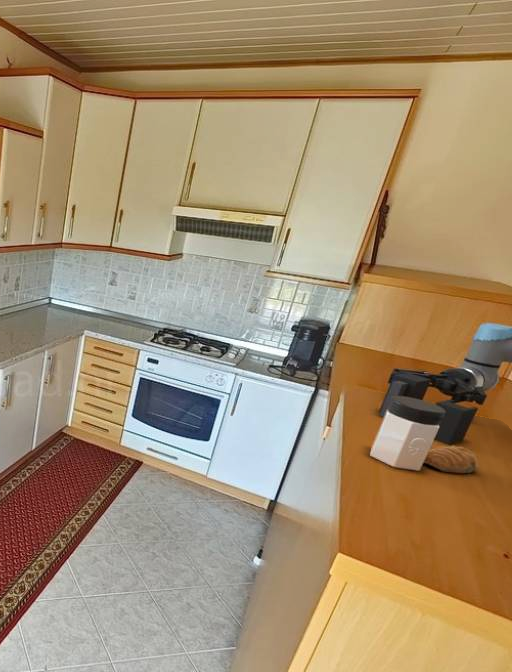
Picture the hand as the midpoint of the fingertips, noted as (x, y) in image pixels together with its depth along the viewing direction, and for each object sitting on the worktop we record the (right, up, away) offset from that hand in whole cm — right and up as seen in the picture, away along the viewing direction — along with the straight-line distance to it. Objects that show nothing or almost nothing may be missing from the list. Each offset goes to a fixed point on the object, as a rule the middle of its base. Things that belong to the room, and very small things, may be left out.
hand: (420, 387), depth 123 cm
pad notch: (-6, -11, -13) cm, 18 cm away
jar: (-29, -14, -27) cm, 42 cm away
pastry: (-19, -15, -28) cm, 37 cm away
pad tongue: (-8, -7, -2) cm, 11 cm away
